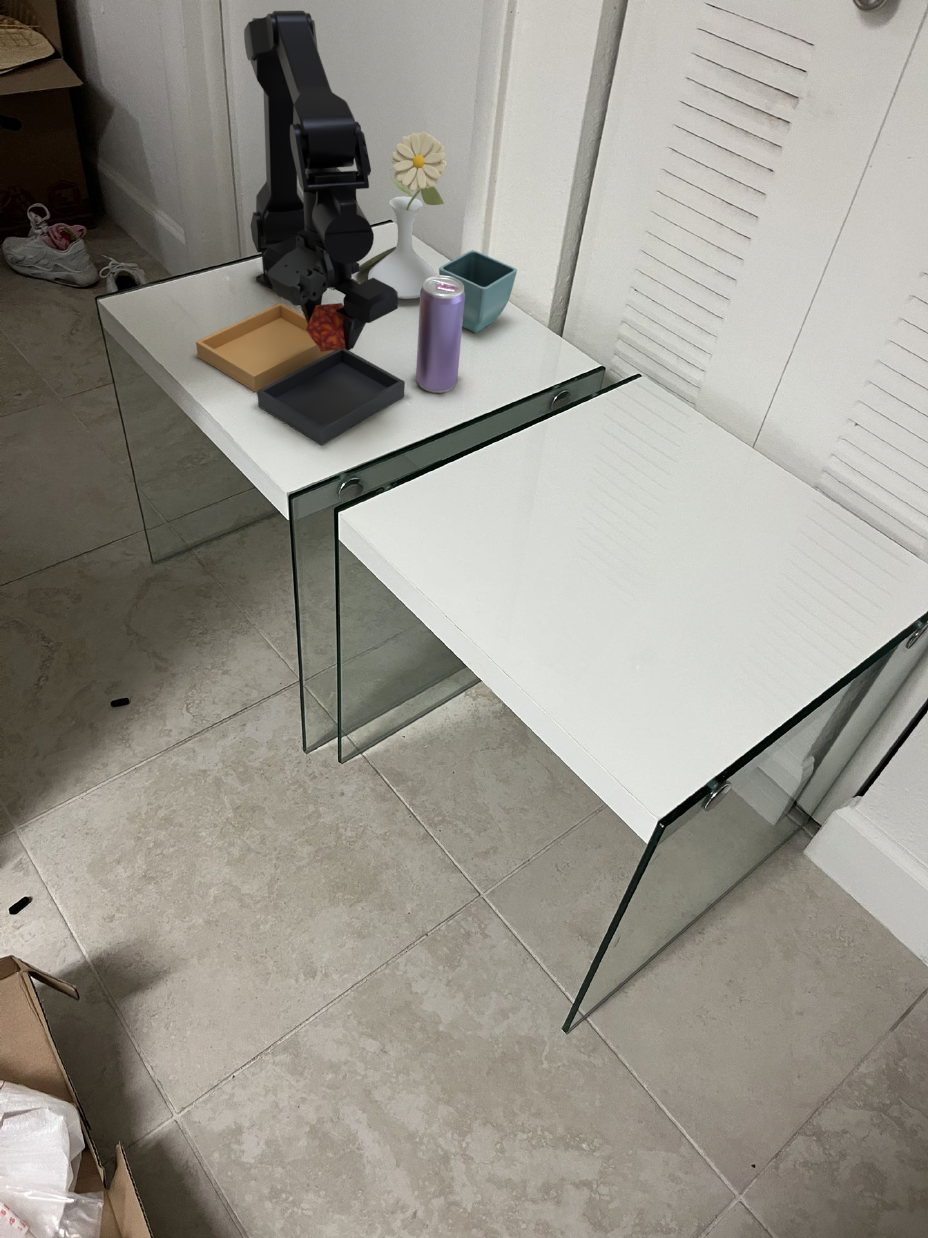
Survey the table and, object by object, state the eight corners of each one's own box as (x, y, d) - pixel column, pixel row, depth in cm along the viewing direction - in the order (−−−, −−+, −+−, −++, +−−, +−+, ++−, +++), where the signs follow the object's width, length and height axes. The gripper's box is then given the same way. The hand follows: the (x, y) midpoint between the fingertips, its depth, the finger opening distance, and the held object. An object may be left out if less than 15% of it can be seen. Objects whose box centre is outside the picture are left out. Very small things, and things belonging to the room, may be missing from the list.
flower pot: (512, 322, 149) (518, 268, 143) (479, 343, 144) (485, 288, 138) (467, 302, 153) (472, 248, 146) (434, 322, 147) (437, 267, 141)
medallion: (394, 244, 149) (397, 249, 150) (402, 247, 157) (404, 251, 157) (351, 269, 151) (353, 273, 151) (360, 270, 159) (362, 274, 159)
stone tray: (258, 406, 129) (256, 390, 127) (342, 361, 138) (342, 346, 136) (321, 445, 124) (321, 429, 122) (404, 396, 133) (404, 381, 131)
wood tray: (197, 356, 136) (195, 341, 134) (281, 317, 145) (280, 302, 143) (255, 392, 131) (254, 376, 129) (338, 348, 140) (338, 333, 138)
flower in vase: (353, 286, 153) (352, 121, 134) (401, 264, 159) (406, 104, 141) (412, 317, 148) (419, 151, 129) (460, 293, 154) (473, 131, 136)
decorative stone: (349, 349, 130) (360, 358, 123) (300, 346, 128) (309, 354, 121) (352, 301, 128) (364, 307, 121) (302, 296, 126) (311, 302, 119)
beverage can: (452, 397, 134) (460, 299, 123) (411, 390, 134) (416, 292, 123) (460, 375, 138) (469, 278, 127) (421, 368, 138) (426, 271, 127)
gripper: (225, 216, 113) (237, 333, 125) (336, 273, 106) (338, 392, 118) (293, 190, 120) (299, 303, 131) (402, 243, 112) (398, 358, 124)
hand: (331, 338), depth 126 cm, fingers closed on decorative stone, 6 cm apart
